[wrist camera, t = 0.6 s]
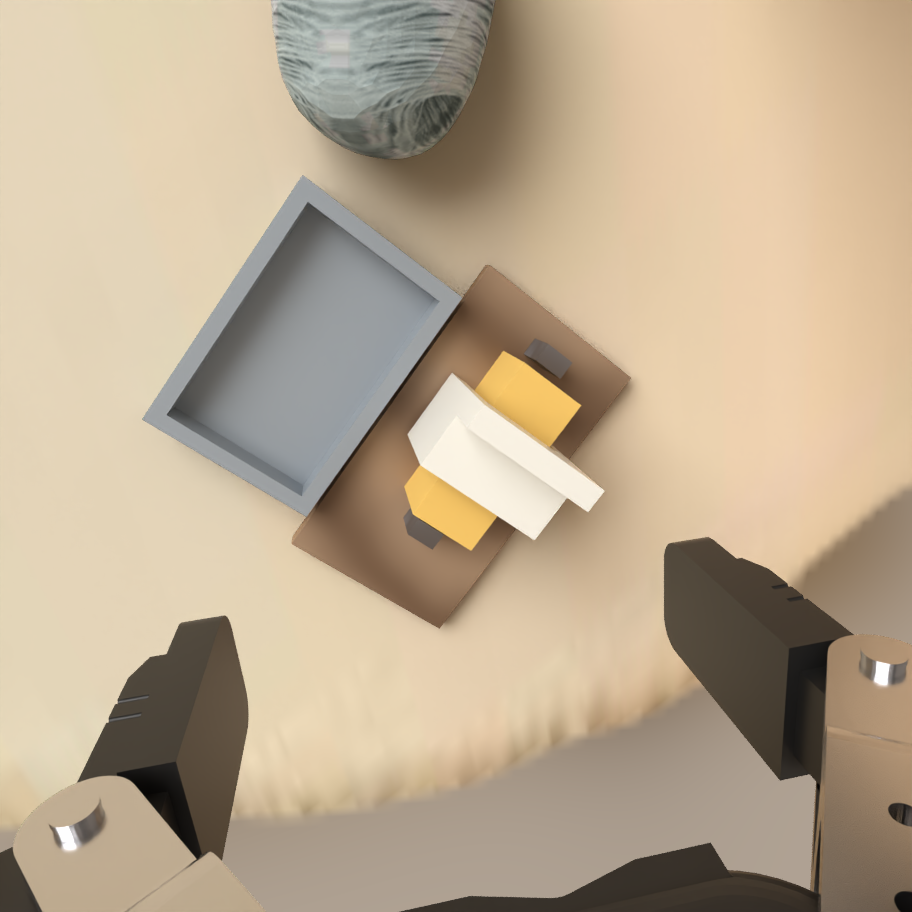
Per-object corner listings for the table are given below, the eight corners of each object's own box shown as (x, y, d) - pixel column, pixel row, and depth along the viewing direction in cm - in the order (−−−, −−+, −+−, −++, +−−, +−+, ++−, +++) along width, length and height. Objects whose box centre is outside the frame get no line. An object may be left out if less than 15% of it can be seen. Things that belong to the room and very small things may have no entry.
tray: (304, 180, 33) (302, 174, 30) (454, 294, 36) (462, 297, 33) (154, 408, 34) (142, 419, 32) (307, 500, 37) (306, 516, 35)
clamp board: (485, 265, 35) (501, 266, 32) (623, 374, 38) (650, 385, 35) (292, 536, 38) (288, 562, 34) (436, 619, 41) (446, 651, 37)
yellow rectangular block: (503, 350, 36) (524, 362, 32) (554, 389, 37) (581, 405, 33) (404, 486, 37) (412, 514, 33) (456, 519, 38) (471, 550, 34)
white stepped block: (451, 372, 35) (484, 404, 28) (549, 443, 37) (604, 490, 30) (407, 434, 36) (427, 482, 28) (506, 500, 38) (549, 561, 30)
